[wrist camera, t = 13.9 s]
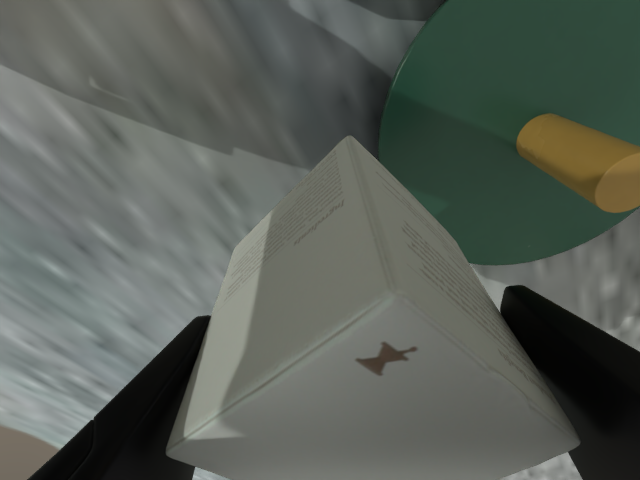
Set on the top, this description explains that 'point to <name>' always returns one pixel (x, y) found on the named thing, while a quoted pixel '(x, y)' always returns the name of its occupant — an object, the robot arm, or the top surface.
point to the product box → (361, 348)
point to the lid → (519, 123)
